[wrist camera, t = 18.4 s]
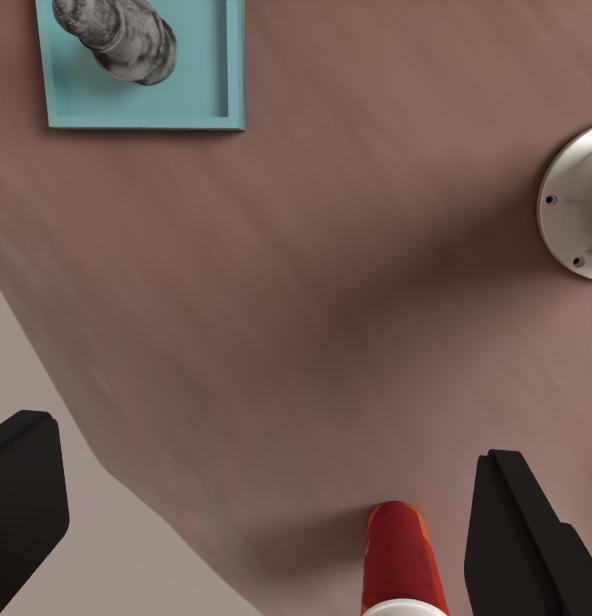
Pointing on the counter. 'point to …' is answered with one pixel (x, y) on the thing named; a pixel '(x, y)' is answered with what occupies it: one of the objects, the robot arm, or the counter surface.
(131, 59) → the grey stone turned piece
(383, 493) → the counter surface
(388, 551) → the paper cup
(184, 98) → the tray
